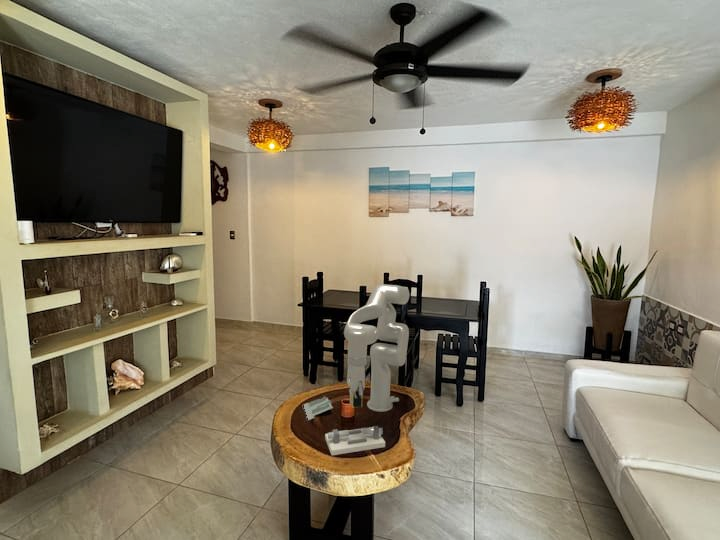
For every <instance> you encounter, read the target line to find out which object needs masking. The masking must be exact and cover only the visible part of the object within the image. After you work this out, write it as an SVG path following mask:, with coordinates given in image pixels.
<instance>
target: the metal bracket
mask: <svg viewBox="0 0 720 540" xmlns="http://www.w3.org/2000/svg"><path fill="white" fill-rule="evenodd" d="M303 405H304V408H303V410H304V409H305V410H304V413H305V412H306V413H305V415H307V416H306V419H307V418H308V420H307V421H311V420H313V419H315V417H316V415H317V416H318V415H320V414H322V413H324V412H326V411H329V410H331V411H333V410H332V409H333V408H334V406H332V400H331V399H330V400H329V397H327V396H322V398H319V399H318V398H317V399H315V400H313V401H310V402H306V403H303V404H302V406H303Z"/></svg>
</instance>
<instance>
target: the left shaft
mask: <svg viewBox="0 0 720 540" xmlns="http://www.w3.org/2000/svg"><path fill="white" fill-rule="evenodd" d="M372 427H373V428H370V427H362V428H361V429H362V434H373V437H374V439H379V434H380V435H383V434H384V433H383V432H384V431H383V427H379V425H373V426H372Z"/></svg>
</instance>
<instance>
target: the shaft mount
mask: <svg viewBox="0 0 720 540" xmlns="http://www.w3.org/2000/svg"><path fill="white" fill-rule="evenodd" d="M369 428H373V426H371V427H370V426H369ZM324 439H325V441H326V445H327V448H328V450H329V452H330V454H331V456H337V455H343V454H349V453H355V452H363V451H369V450H373V449H374V450H375V449H380V448H381V449H382V448H386V441H385V439H384V438H383V437H382V434H379V439H374V437H373V434H362V428H357V429H356V428H355V429H350V430H348V429H344V430H338V428H336V429H335V428H334V429H332V431H330V432H327V433H325V434H324Z"/></svg>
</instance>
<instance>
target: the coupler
mask: <svg viewBox="0 0 720 540" xmlns="http://www.w3.org/2000/svg"><path fill="white" fill-rule="evenodd" d="M357 390H358V389H357ZM348 393H349V405H350V407H351V408H352V409H353V408H354V406H353V405H354V397H355V393H354V392H353V391H352V390H351V389H350V388H349V389H348ZM357 393H359V392H357ZM355 408H357V407H355ZM355 408H354V409H355ZM360 408H363V405H362V406H361V407H360Z"/></svg>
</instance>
